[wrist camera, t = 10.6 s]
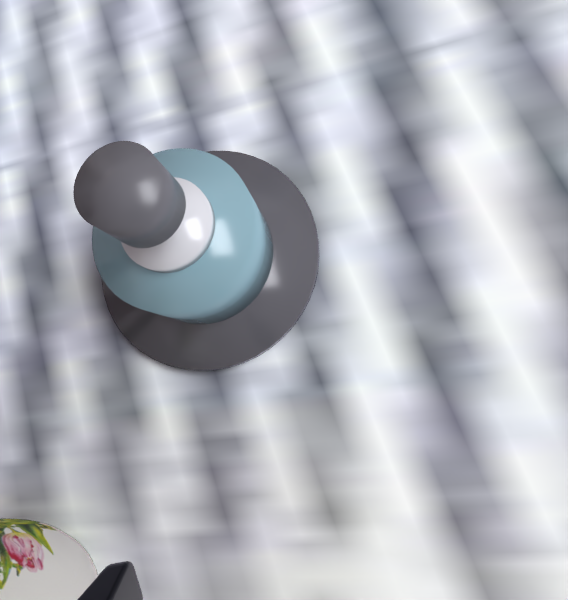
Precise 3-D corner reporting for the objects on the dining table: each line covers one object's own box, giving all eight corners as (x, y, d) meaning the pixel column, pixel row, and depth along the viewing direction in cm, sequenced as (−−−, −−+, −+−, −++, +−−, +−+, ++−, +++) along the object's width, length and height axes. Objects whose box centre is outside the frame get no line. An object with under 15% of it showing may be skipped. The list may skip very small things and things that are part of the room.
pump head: (209, 197, 17) (176, 157, 14) (174, 267, 17) (133, 242, 14) (145, 173, 18) (100, 130, 15) (111, 240, 18) (57, 210, 14)
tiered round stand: (356, 196, 22) (356, 138, 17) (259, 411, 21) (226, 423, 16) (166, 130, 25) (114, 64, 20) (71, 315, 24) (-11, 298, 19)
